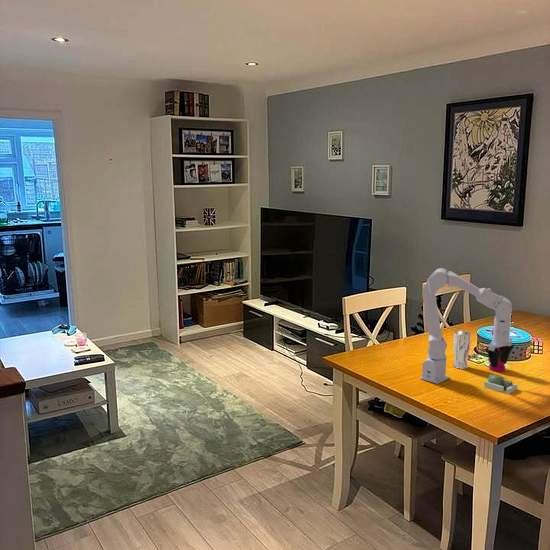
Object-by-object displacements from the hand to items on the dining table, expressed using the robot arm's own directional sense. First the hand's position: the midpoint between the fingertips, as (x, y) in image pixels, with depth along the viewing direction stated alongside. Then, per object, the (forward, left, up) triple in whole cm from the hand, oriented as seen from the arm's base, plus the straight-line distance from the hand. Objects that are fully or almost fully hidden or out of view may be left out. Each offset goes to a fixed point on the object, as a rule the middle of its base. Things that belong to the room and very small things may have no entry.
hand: (498, 364), depth 208 cm
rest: (-1, -1, -9) cm, 9 cm away
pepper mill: (+17, +9, -9) cm, 21 cm away
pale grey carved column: (+9, +21, -9) cm, 24 cm away
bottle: (-1, +3, -7) cm, 7 cm away
